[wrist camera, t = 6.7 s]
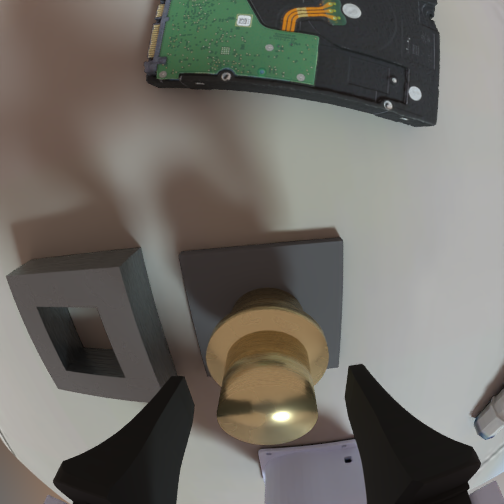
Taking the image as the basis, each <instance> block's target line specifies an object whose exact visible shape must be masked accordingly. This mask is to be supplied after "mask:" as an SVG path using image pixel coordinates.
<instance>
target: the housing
mask: <svg viewBox="0 0 504 504" xmlns="http://www.w3.org/2000/svg"><path fill="white" fill-rule="evenodd" d="M6 278H7V281H8V284H9V286H10V289H11V292H12V294H13V297H14V300H15V302H16V305H17V307H18V310H19V312H20V315H21V317H22V319H23V322H24V324H25V326H26V328H27V330H28V333H29V335H30V337H31V339H32V341H33V343H34V345H35V347H36V349H37V351H38V353H39V355H40V357H41V359H42V361H43V363H44V365H45V366H46V368H47V370H48V372H49V374H50V375H51V377H52V379H53V381H54V382H55V384H56V386H57V387H58V389H62V390H67V391H72V392H77V393H82V394H88V395H93V396H99V397H106V398H113V399H120V400H128V401H137V402H147V403H149V402H150V401H151V399H152V398H153V397H154V396H155V395H156V394H157V392H158V391H159V390H160V389H161V388H162V387H163V385H164V384H165V383H166V382H167V381H168V379H169V378H170V377H171V376H177V373H176V370H175V367H174V364H173V361H172V358H171V355H170V352H169V349H168V346H167V343H166V340H165V336H164V333H163V330H162V327H161V323H160V320H159V316H158V313H157V309H156V306H155V302H154V299H153V295H152V291H151V287H150V284H149V280H148V276H147V272H146V268H145V264H144V259H143V255H142V251H141V247H139V248H130V249H121V250H111V251H102V252H94V253H85V254H76V255H68V256H59V257H51V258H42V259H34V260H30V261H28V262H27V263H25V264H23V265H22V266H20V267H19V268H17V269H16V270H14V271H13V272H11V273H10V274H8V275H7V276H6ZM67 307H97V309H98V312H99V315H100V317H101V320H102V323H103V325H104V328H105V331H106V333H107V336H108V338H109V341H110V343H111V345H112V348H113V350H108V349H93V348H83V346H82V343H81V341H80V339H79V337H78V334H77V332H76V330H75V327H74V325H73V322H72V320H71V317H70V315H69V312H68V310H67Z"/></svg>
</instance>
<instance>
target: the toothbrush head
mask: <svg viewBox="0 0 504 504" xmlns="http://www.w3.org/2000/svg"><path fill="white" fill-rule="evenodd" d="M474 426H475V429H476V432H477V434H478V435H479V436H481V437H482V438H483V439H485V440H486V439H490V438H493V437H494V436H495V435H496V434H497V433H498V432H499V431H501V430H502V429H503V428H504V388H503V389H502V391H501V392H500V393H499V394H498V395H496V396H493V397H492V399H491V402H490V403H489V404H488V405H487V406H486V407H485V409H484V410H483V411H482V412H481V413H480V414H479V415H478V416H477V417H476V419H475V422H474Z"/></svg>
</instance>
